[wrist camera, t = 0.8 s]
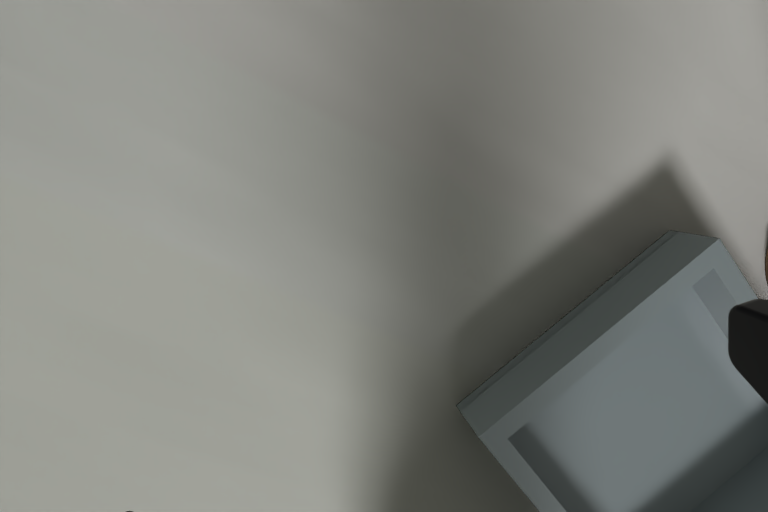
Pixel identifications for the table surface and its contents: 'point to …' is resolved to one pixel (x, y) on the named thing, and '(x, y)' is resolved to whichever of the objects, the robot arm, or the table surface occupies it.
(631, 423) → the slate tray
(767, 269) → the wooden dome-topped cylinder
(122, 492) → the table surface
